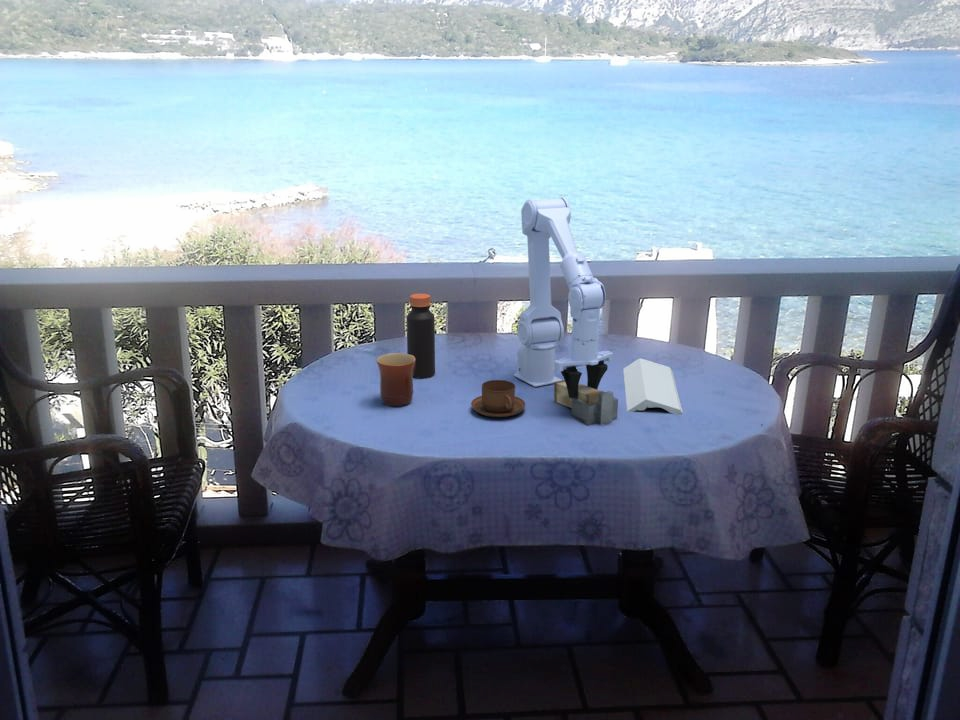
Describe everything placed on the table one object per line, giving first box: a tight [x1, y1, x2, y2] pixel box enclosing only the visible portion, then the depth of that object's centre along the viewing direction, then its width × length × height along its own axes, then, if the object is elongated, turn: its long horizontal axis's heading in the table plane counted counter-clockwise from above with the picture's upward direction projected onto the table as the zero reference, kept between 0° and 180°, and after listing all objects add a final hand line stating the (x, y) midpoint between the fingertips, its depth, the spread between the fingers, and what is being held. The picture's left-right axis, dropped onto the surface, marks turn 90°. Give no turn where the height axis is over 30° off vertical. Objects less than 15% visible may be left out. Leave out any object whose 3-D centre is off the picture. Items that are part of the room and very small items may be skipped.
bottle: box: [406, 293, 436, 379], centre depth 216 cm, size 7×7×20 cm
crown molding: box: [622, 357, 684, 415], centre depth 210 cm, size 29×12×4 cm, turn 174°
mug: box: [376, 352, 416, 407], centre depth 201 cm, size 12×9×10 cm
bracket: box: [570, 390, 619, 426], centre depth 192 cm, size 7×8×7 cm
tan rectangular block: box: [553, 379, 605, 408], centre depth 198 cm, size 13×4×5 cm, turn 31°
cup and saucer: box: [470, 379, 526, 418], centre depth 196 cm, size 12×12×6 cm
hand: (582, 396), depth 196 cm, fingers open, 5 cm apart
